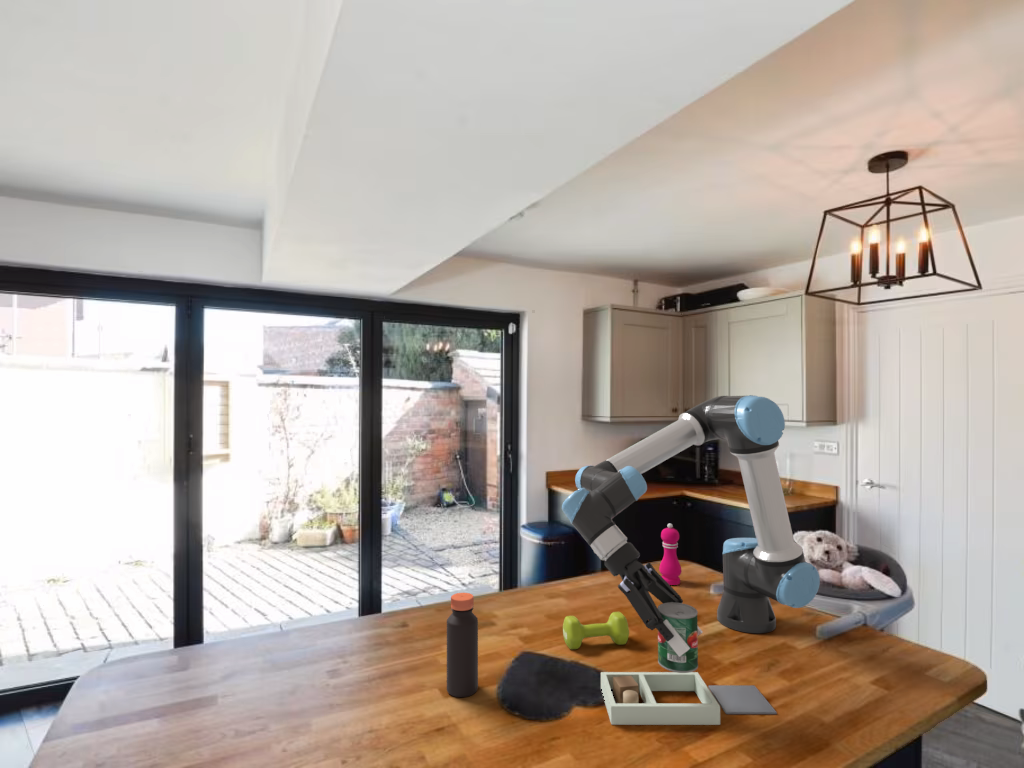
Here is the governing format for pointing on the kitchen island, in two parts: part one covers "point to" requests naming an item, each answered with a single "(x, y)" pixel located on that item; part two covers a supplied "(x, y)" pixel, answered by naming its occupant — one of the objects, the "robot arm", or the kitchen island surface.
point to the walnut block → (623, 687)
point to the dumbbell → (595, 630)
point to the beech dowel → (630, 696)
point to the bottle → (462, 647)
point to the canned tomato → (686, 627)
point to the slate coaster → (741, 699)
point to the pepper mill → (670, 556)
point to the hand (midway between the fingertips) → (691, 644)
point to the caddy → (661, 711)
